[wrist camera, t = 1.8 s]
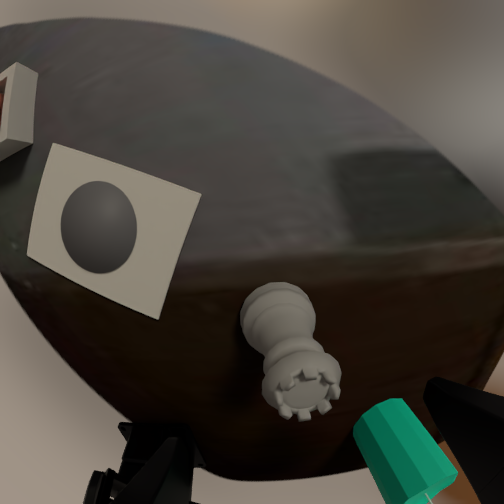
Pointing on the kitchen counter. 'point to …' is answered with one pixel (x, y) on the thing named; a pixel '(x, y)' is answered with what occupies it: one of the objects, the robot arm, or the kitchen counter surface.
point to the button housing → (17, 108)
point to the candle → (402, 454)
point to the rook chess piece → (289, 351)
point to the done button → (1, 105)
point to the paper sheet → (110, 227)
